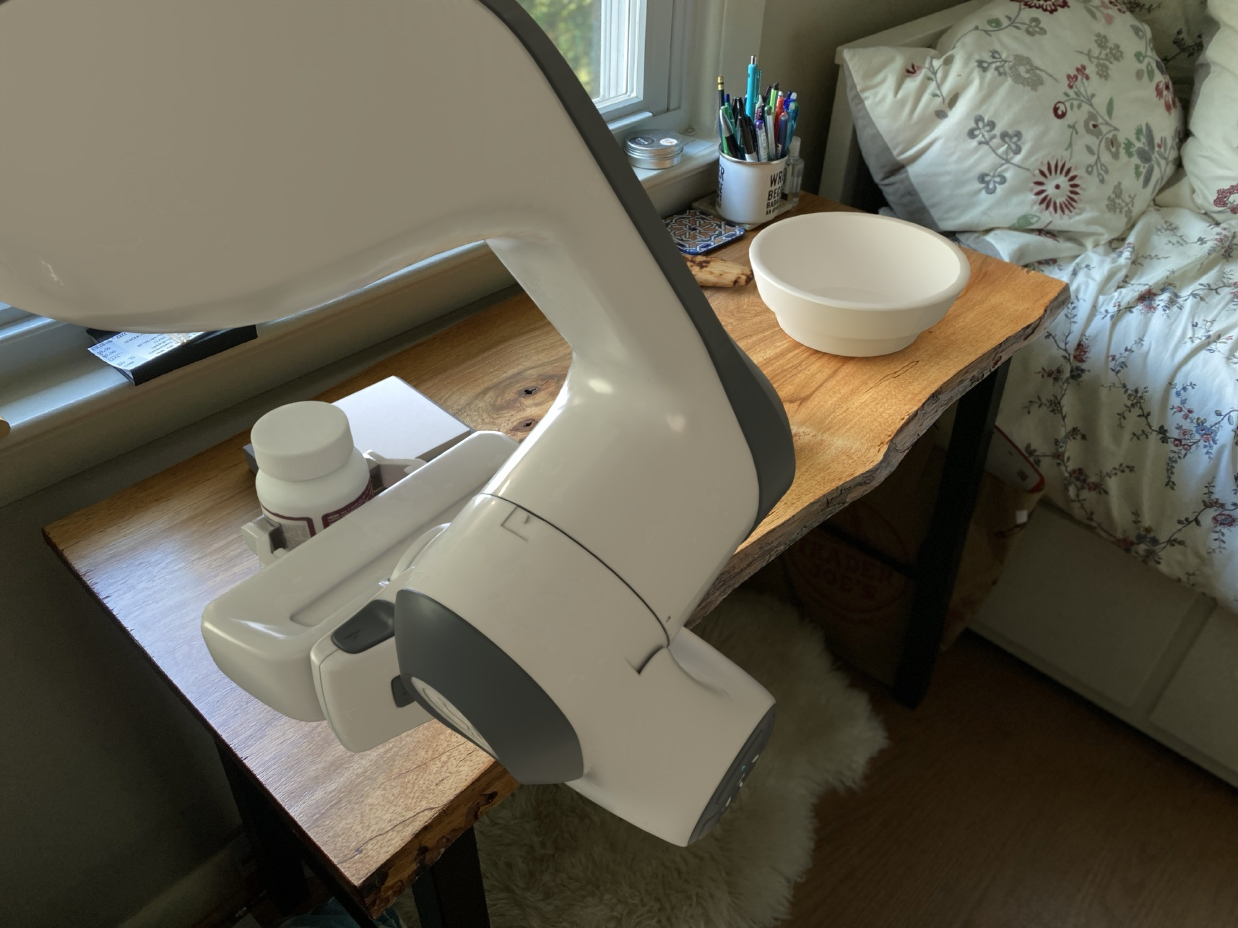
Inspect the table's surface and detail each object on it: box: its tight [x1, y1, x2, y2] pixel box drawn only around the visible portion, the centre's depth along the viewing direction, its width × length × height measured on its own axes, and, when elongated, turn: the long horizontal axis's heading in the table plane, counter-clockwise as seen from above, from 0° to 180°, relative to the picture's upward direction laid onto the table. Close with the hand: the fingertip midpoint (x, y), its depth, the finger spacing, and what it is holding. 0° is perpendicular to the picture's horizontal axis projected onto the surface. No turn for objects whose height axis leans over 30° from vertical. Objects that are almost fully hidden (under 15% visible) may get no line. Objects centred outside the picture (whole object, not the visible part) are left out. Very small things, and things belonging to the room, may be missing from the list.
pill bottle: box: [250, 400, 374, 552], centre depth 54 cm, size 6×6×11 cm
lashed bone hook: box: [681, 253, 755, 288], centre depth 108 cm, size 9×5×18 cm
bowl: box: [748, 211, 971, 358], centre depth 99 cm, size 22×22×8 cm
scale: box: [242, 375, 478, 497], centre depth 82 cm, size 16×14×3 cm
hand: (309, 495), depth 54 cm, fingers closed on pill bottle, 6 cm apart
